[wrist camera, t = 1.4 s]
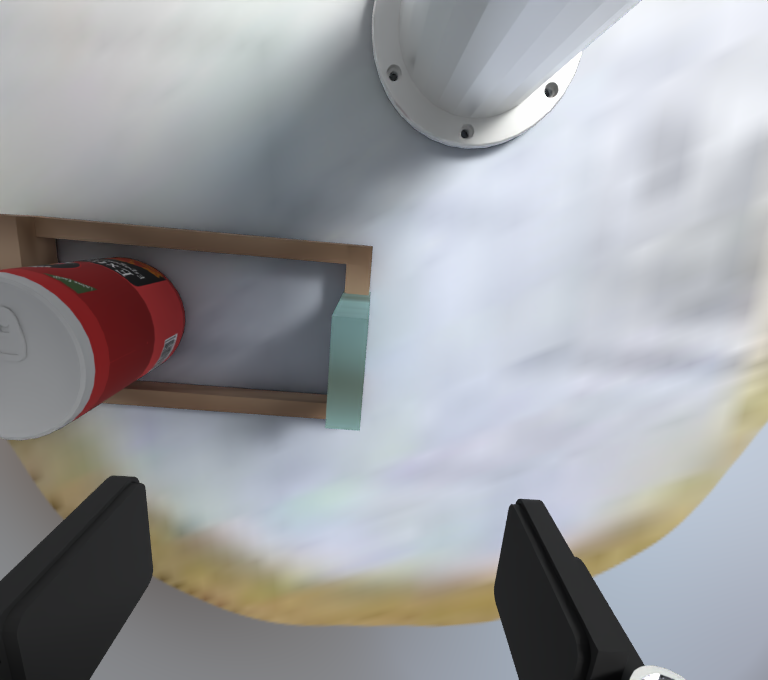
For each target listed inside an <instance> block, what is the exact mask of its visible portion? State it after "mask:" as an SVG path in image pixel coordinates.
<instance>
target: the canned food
mask: <svg viewBox="0 0 768 680" xmlns="http://www.w3.org/2000/svg"><path fill="white" fill-rule="evenodd" d="M184 326H185V311H184V307H183V303H182V300H181V298H180V296H179V294H178V292H177V290H176V289H175V287H174V286H173V284H172V283H171V282H170V281H169V280H168V279H167V278H166V277H165V275H163V274H162V273H161V272H159V271H158V270H157V269H155V268H153V267H151V266H149V265H147V264H145V263H143V262H140V261H137V260H134V259H130V258H121V257H113V258H104V259H94V260H85V261H76V262H66V263H57V264H47V265H38V266H28V267H19V268H10V269H3V270H0V438H1V439H6V440H27V439H34V438H39V437H41V436H44V435H47V434H50V433H52V432H53V431H55V430H58V429H61V428H62V427H64V426H65V425H67V424H69V423H70V422H72V421H74V420H75V419H77V418H79V417H80V416H82V415H83V414H85V413H87V412H88V411H90V410H91V409H93V408H94V407H96V406H97V405H99V404H101V403H102V402H104V401H105V400H107V399H108V398H110V397H111V396H113V395H114V394H116V393H117V392H119V391H121V390H122V389H124V388H125V387H127V386H128V385H130V384H131V383H133V382H134V381H136V380H137V379H139V378H141V377H142V376H144V375H145V374H147V373H148V372H150V371H151V370H153V369H154V368H156V367H157V366H159V365H161V364H162V363H164V362H165V361H166V360H167V359H168V358H169V357H170V356H171V355H172V354H173V353H174V351H175V350H176V348H177V347H178V345H179V343H180V340H181V338H182V335H183V332H184Z"/></svg>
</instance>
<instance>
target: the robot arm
mask: <svg viewBox="0 0 768 680" xmlns="http://www.w3.org/2000/svg"><path fill="white" fill-rule="evenodd" d="M640 1H642V0H375V1H374V7H373V14H372V43H373V53H374V60H375V64H376V67H377V71H378V75H379V79H380V81H381V83H382V85H383V87H384V90H385V92H386V94H387V96H388V98H389V100H390V101H391V103H392V104H393V105H394V107H395V108H396V110H397V111H398V112H399V114H400V115H401V116H402V117H403V118H404V119H405V120H406V121H407V122H408V123H409V124H410V125H411V126H412V127H413V128H414V129H416V130H417V131H419V132H420V133H422V134H423V135H425V136H427V137H428V138H430V139H432V140H434V141H437V142H439V143H442V144H445V145H447V146H452V147H459V148H465V149H472V148H487V147H490V146H494V145H498V144H502V143H505V142H507V141H509V140H511V139H513V138H515V137H517V136H519V135H521V134H523V133H524V132H526V131H527V130H529V129H530V128H532V127H533V126H535V125H536V124H537V123H538V122H539V121H540V120H542V119H543V118H544V117H545V116H546V115H547V114H548V113H549V112H550V111H551V110H552V109H553V108H554V107H555V105H556V104H557V103H558V102H559V101H560V99H561V98H562V97H563V95H564V93H565V92H566V90H567V88H568V86H569V84H570V83H571V81H572V79H573V77H574V75H575V73H576V70H577V67H578V64H579V62H580V59H581V56H582V53H583V50H584V49H585V48H586V47H588V46H589V45H590V44H591V43H592V42H593V41H595V40H596V39H597V38H598V37H599V36H600V35H602V34H603V33H604V32H605V31H606V30H607V29H609V28H610V27H611V26H612V25H613V24H615V23H616V22H617V21H618V20H619V19H620V18H622V17H623V16H624V15H625V14H626V13H627V12H629V11H630V10H631V9H632V8H633V7H634V6H636V5H637V4H638V3H639V2H640ZM391 74H396V75H397V77H398V79H397V80H396V81H391V80H390V78H389V76H390V75H391ZM544 90H547V91H548V92H549V97H546V95H545V94H544ZM461 131H466V132H467V133H468V137H467V138H462V136H461ZM152 573H153V564H152V553H151V543H150V532H149V522H148V511H147V501H146V490H145V486H144V484H142V483H139V480H138V478H136V477H128V476H110V477H109V478H107V479H106V480H105V481H104V482H103V483H102V484H101V485H100V486H99V487H98V488H97V489H96V490H95V491H94V492H93V493H92V494H91V495H90V496H88V497H87V498H86V499H85V500H84V501H83V502H82V503H81V504H80V505H79V506H78V507H77V508H76V509H75V510H74V511H73V512H72V513H71V514H70V515H69V516H68V517H67V518H66V519H65V520H63V521H62V522H61V523H60V524H59V525H58V526H57V527H56V528H55V529H54V530H53V531H52V532H51V533H50V534H49V535H48V536H47V537H46V538H45V539H44V540H43V541H42V542H41V543H40V544H38V545H37V547H35V548H34V549H33V550H32V551H31V552H30V553H29V554H28V555H27V556H26V557H25V558H24V559H23V560H22V561H21V562H20V563H19V564H18V565H17V566H16V567H15V568H14V569H13V570H11V571H10V572H9V573H8V574H7V575H6V576H5V577H4V578H3V579H2V580H1V581H0V680H89V679H90V678H91V676H92V675H93V673H94V671H95V670H96V668H97V667H98V665H99V663H100V662H101V660H102V659H103V657H104V655H105V654H106V652H107V651H108V649H109V647H110V646H111V644H112V643H113V641H114V639H115V638H116V636H117V635H118V633H119V632H120V630H121V628H122V627H123V625H124V624H125V622H126V620H127V619H128V617H129V616H130V614H131V612H132V611H133V609H134V608H135V606H136V604H137V603H138V601H139V600H140V598H141V596H142V595H143V593H144V591H145V590H146V588H147V587H148V585H149V583H150V581H151V578H152ZM494 596H495V602H496V605H497V609H498V612H499V615H500V618H501V622H502V625H503V628H504V631H505V635H506V638H507V641H508V645H509V648H510V651H511V654H512V658H513V661H514V664H515V667H516V671H517V674H518V677H519V680H686V679H684V678H683V677H681V676H680V675H678V674H676V673H673V672H671V671H669V670H667V669H665V668H661V667H656V666H645V665H644V664H643V662H642V660H641V659H640V657H639V655H638V654H637V652H636V650H635V649H634V647H633V645H632V643H631V642H630V640H629V638H628V637H627V635H626V633H625V632H624V630H623V628H622V627H621V625H620V623H619V622H618V620H617V618H616V617H615V615H614V613H613V612H612V610H611V608H610V607H609V605H608V603H607V601H606V600H605V598H604V597H603V595H602V593H601V591H600V590H599V588H598V586H597V585H596V583H595V581H594V580H593V578H592V576H591V574H590V573H589V571H588V569H587V568H586V566H585V565H584V563H583V562H582V561H581V560H580V559H579V558H577V557H574V555H573V554H572V552H571V550H570V548H569V547H568V545H567V543H566V542H565V540H564V538H563V536H562V535H561V533H560V531H559V529H558V528H557V526H556V524H555V522H554V521H553V519H552V517H551V516H550V514H549V512H548V510H547V509H546V507H545V505H544V504H543V502H542V501H540V500H530V499H518V500H517V501H516V504H511V505H510V506H509V510H508V515H507V521H506V526H505V532H504V537H503V542H502V548H501V553H500V558H499V564H498V569H497V574H496V580H495V586H494Z"/></svg>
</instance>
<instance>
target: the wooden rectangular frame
mask: <svg viewBox="0 0 768 680" xmlns="http://www.w3.org/2000/svg"><path fill="white" fill-rule="evenodd" d="M55 238H57V239H68V240H79V241H91V242H102V243H113V244H125V245H136V246H147V247H159V248H170V249H181V250H193V251H204V252H215V253H227V254H238V255H249V256H261V257H272V258H283V259H295V260H306V261H317V262H329V263H340V264H346V278H345V290H344V292H343V294H342V296H341V298H340V300H339V302H338V304H337V306H336V308H335V310H334V313H333V315H332V322H331V339H330V356H329V373H328V390H327V395H324V394H311V393H298V392H284V391H271V390H258V389H244V388H231V387H217V386H204V385H191V384H177V383H164V382H151V381H137V380H136V381H134V382H133V383H131V384H130V385H128V386H127V387H125V388H124V389H122V390H121V391H119V392H117V393H116V394H114V395H113V396H111V397H110V398H108V399H107V400H105V401H104V402H102V403H109V404H123V405H137V406H150V407H164V408H178V409H192V410H206V411H220V412H234V413H247V414H261V415H275V416H289V417H303V418H317V419H326V424H325V428H331V429H345V430H359V431H360V420H361V407H362V395H363V383H364V371H365V358H366V346H367V334H368V322H369V307H370V292H369V287H370V274H371V262H372V250H373V246H364V245H353V244H342V243H331V242H320V241H309V240H298V239H287V238H275V237H264V236H253V235H242V234H231V233H220V232H209V231H198V230H187V229H176V228H165V227H154V226H143V225H132V224H121V223H110V222H98V221H87V220H76V219H65V218H54V217H43V216H32V215H11V214H0V270H3V269H10V268H19V267H28V266H38V265H47V264H57V263H58V258H57V249H56V240H55Z"/></svg>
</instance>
